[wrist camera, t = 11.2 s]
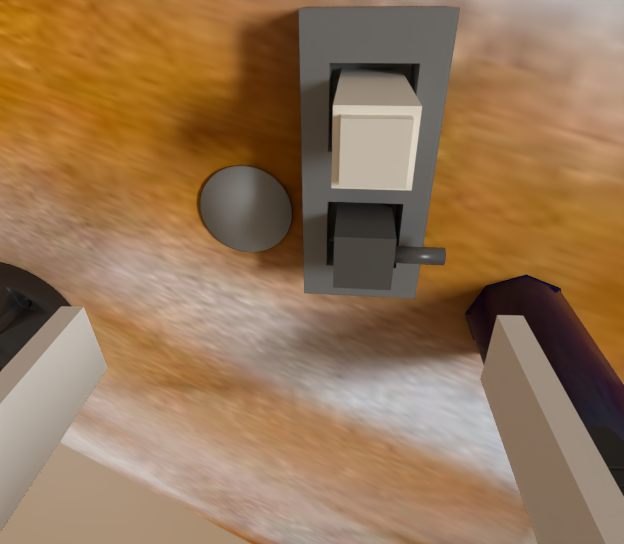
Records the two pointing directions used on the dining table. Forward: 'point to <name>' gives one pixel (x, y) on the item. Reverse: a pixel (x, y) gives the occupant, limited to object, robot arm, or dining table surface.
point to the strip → (318, 147)
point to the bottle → (555, 345)
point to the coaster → (246, 208)
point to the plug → (374, 130)
